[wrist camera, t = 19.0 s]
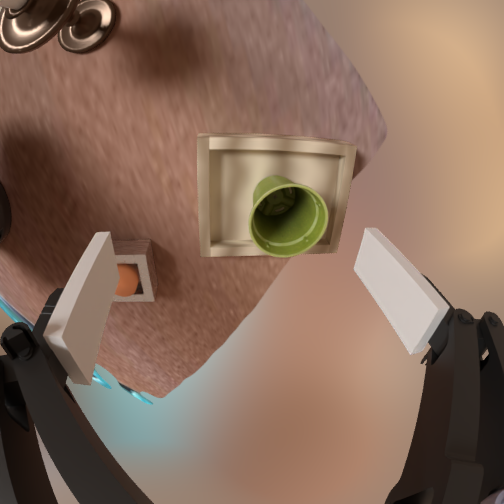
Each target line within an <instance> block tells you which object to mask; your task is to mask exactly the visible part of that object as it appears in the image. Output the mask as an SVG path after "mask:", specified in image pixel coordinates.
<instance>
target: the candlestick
mask: <svg viewBox="0 0 504 504" xmlns="http://www.w3.org/2000/svg"><path fill="white" fill-rule="evenodd" d="M79 1H80V0H0V6H1V7H2V9H1V12H0V47H1V48H2V49H3V50H4V51H6V52H9V53H16V54H19V53H27V52H31V51H33V50H35V49H37V48H39V47H41V46H42V45H44V44H45V43H47V42H48V41H49V40H50V39H52V38H53V37H54V36H55V35H56V34H57V33H58V41H59V43H60V45H61V47H62V48H63V49H65V50H66V51H69V52H73V53H83V52H87V51H89V50H92V49H94V48H95V47H97V46H98V45H100V44H101V43H102V42H103V41H104V40H105V39H106V38H107V37H108V35H109V34H110V32H111V31H112V29H113V27H114V25H115V21H116V10H115V7H114V5H113V4H112V3H111V2H110V1H109V0H82V1H80V2H79Z"/></svg>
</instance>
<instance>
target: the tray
mask: <svg viewBox="0 0 504 504" xmlns="http://www.w3.org/2000/svg"><path fill="white" fill-rule="evenodd" d="M356 150H357V146H355V145H353V144H350V143H348V142H346V141H341V140H333V139H324V138H315V137H304V136H291V135H275V134H251V133H199V134H198V137H197V184H198V217H199V239H200V257H219V256H254V255H268V254H266V253H264V252H262V251H261V250H260V249H259V248H258V247H257V246H256V245H255V244H254V242H253V241H252V239H251V237H250V233H249V228H248V221H249V216H250V212H251V210H252V208H253V193H254V190H255V188H256V186H257V185H258V183H259V182H260V181H261V180H263V179H264V178H266V177H269V176H274V175H278V176H282V177H285V178H287V179H289V180H290V181H292V182H293V183H296V184H302V185H305V186H308V187H310V188H312V189H313V190H315V191H316V192H317V193H318V194H319V195H320V196H321V197H322V198H323V200H324V201H325V204H326V206H327V210H328V223H327V227H326V230H325V232H324V234H323V236H322V237H321V238H320V240H319V241H318V242H317V243H316V244H315V245H314V246H313V247H312V248H310V249H309V250H308V251H306V252H304V253H302V254H320V253H337V249H338V244H339V241H340V236H341V231H342V227H343V222H344V217H345V213H346V208H347V202H348V197H349V192H350V186H351V181H352V175H353V169H354V163H355V157H356ZM288 188H289V191H290V194H291V193H292V189H291V187H288ZM273 197H274V198H277V196H276V195H274V196H273ZM259 206H262V204H261V203H259ZM283 209H284V207H282V208H280V209H277V210H275V211H276V212H279V211H282V210H283Z"/></svg>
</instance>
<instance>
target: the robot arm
mask: <svg viewBox="0 0 504 504" xmlns="http://www.w3.org/2000/svg"><path fill="white" fill-rule="evenodd" d="M10 225H11V211H10V206H9V201H8V198H7V195H6V193H5V191H4V189H3V187H2V185H1V184H0V243H1V242H2V241H3V240H4V239H5V238H6V236H7V235H8V233H9V230H10ZM354 271H355V272H356V274H357V275H358V276H359V278H360V279H361V280H362V282H363V284H364V285H365V286H366V288H367V289H368V291H369V292H370V294H371V295H372V297H373V298H374V299H375V301H376V302H377V304H378V305H379V307H380V308H381V310H382V311H383V313H384V314H385V316H386V317H387V319H388V320H389V322H390V323H391V325H392V326H393V328H394V330H395V331H396V333H397V334H398V336H399V337H400V339H401V341H402V342H403V344H404V345H405V347H406V349H407V350H408V352H409V354H410V355H412V354H415V353H418V352H421V351H422V350H423V349H424V348H425V346H426V345H427V343H429V344H430V346H431V348H430V349H429V351H428V352H427V354H426V355H425V356H424V358H423V359H422V361H421V364H423V363H424V361H425V360H426V359H427V363H426V364H425V365H426V374H425V380H424V386H423V393H422V398H421V403H420V409H419V413H418V418H417V422H416V427H415V431H414V435H413V439H412V442H411V446H410V450H409V453H408V457H407V460H406V463H405V466H404V469H403V472H402V476H401V478H400V480H399V482H398V483H397V484H396V485H395V486H394V487H393V489H392V490H391V492H390V493H389V495H388V497H387V499H386V501H385V504H504V326H503V324H502V322H501V320H500V318H498V316H497V315H496V314H495V313H492V312H485V313H484V315H483V316H482V318H481V319H474V318H473V316H472V315H471V314H470V313H468V312H467V311H465V310H463V309H456V310H455V309H454V308H453V306H452V305H451V304H450V303H449V302H448V301H447V300H446V298H445V297H444V296H443V295H442V294H441V292H439V291H438V289H437V288H436V287H435V286H434V284H433V283H432V282H431V281H430V280H429V279H428V278H427V277H425V276H424V275H423V274H421V273H420V272H419V271H418V270H417V269H416V268H415V267H414V266H413V265H412V263H411V262H410V261H408V259H407V258H406V257H405V256H404V255H403V254H402V253H401V252H400V251H399V250H398V249H397V248H396V247H395V246H394V245H393V244H392V243H391V242H390V241H389V240H388V239H387V238H386V237H385V236H384V235H383V234H382V233H381V232H380V231H379V230H378V229H377V228H365V232H364V235H363V239H362V242H361V246H360V249H359V253H358V256H357V259H356V263H355V266H354ZM119 279H120V276H119V271H118V267H117V263H116V258H115V253H114V249H113V244H112V239H111V233H110V232H96V234H95V235H94V237H93V238H92V240H91V242H90V243H89V245H88V247H87V248H86V250H85V252H84V254H83V255H82V257H81V259H80V261H79V262H78V264H77V266H76V268H75V270H74V271H73V273H72V275H71V277H70V279H69V281H68V283H67V285H66V287H65V288H57V289H56V290H55V291H54V292H53V293H52V294H51V295H50V296H49V298H48V300H47V302H46V304H45V307H44V308H43V310H42V312H41V314H40V316H39V318H38V320H37V322H36V324H35V326H34V329H33V331H32V332H31V330H30V328H29V327H28V325H27V324H25V323H23V322H17V323H14V324H12V325H10V326H9V327H7V328H6V329H5V331H4V332H3V333H2V336H1V339H0V344H1V346H2V347H3V349H4V350H5V352H6V353H7V355H2V356H0V504H58V502H57V500H56V497H55V495H54V492H53V489H52V487H51V484H50V481H49V478H48V475H47V472H46V469H45V465H44V462H43V459H42V455H41V452H40V448H39V444H38V439H37V435H36V431H35V427H34V424H35V426H36V428H37V431H38V433H39V435H40V437H41V439H42V441H43V443H44V445H45V447H46V449H47V451H48V453H49V455H50V457H51V459H52V460H53V462H54V464H55V466H56V468H57V469H58V471H59V473H60V474H61V476H62V478H63V479H64V481H65V482H66V484H67V486H68V487H69V489H70V490H71V492H72V493H73V495H74V496H75V498H76V499H77V501H78V502H79V503H80V504H154V503H153V502H152V501H151V500H150V499H149V498H148V497H147V496H146V495H145V494H144V493H143V492H142V491H141V489H140V488H139V487H138V486H137V485H136V484H135V483H134V482H133V480H132V479H131V478H130V477H129V476H128V475H127V473H126V472H125V471H124V470H123V469H122V467H121V466H120V465H119V464H118V463H117V461H116V460H115V458H114V457H113V456H112V455H111V453H110V452H109V450H108V449H107V448H106V446H105V445H104V444H103V442H102V441H101V439H100V438H99V437H98V435H97V433H96V432H95V431H94V429H93V427H92V426H91V425H90V423H89V421H88V420H87V418H86V417H85V415H84V413H83V412H82V410H81V408H80V407H79V405H78V403H77V402H76V400H75V398H74V396H73V395H72V393H71V391H70V389H69V387H68V386H67V385H66V380H67V376H69V377H70V379H71V380H72V382H73V383H75V384H83V385H91V381H92V377H93V372H94V367H95V363H96V359H97V355H98V351H99V347H100V343H101V339H102V335H103V332H104V328H105V324H106V321H107V317H108V314H109V311H110V307H111V304H112V301H113V298H114V294H115V291H116V288H117V285H118V282H119ZM487 349H488V352H489V354H488V356H487V357H486V358H485V359H484V360H483V359H482V355H483V354H484V353H485V351H486V350H487Z"/></svg>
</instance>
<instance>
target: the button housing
mask: <svg viewBox="0 0 504 504" xmlns="http://www.w3.org/2000/svg"><path fill="white" fill-rule="evenodd" d="M112 244H113V249H114V253H115V258H116V263H117V264H133V263H134V264H135V265H136V266H137V267H138V269H139V274H140V279H139V282H138V285H137V289H136V291H135V293H134V294H133V295H131V296H128V297H122V296H118V295H116V294H114V298H113V301H122V302H155V297H156V292H157V287H158V281H157V275H156V270H155V264H154V257H153V251H152V245H151V239H137V240H112Z"/></svg>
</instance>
